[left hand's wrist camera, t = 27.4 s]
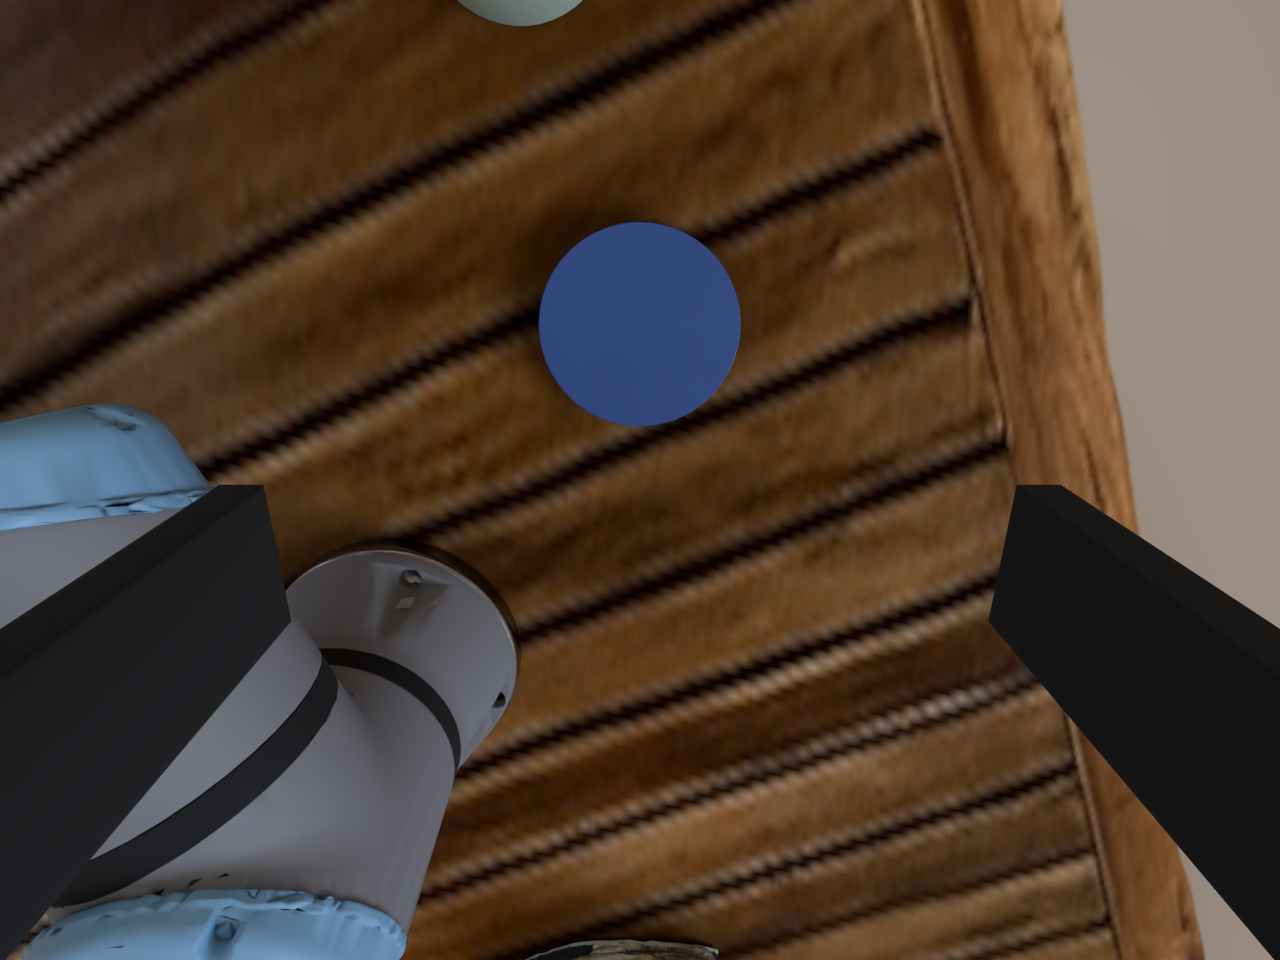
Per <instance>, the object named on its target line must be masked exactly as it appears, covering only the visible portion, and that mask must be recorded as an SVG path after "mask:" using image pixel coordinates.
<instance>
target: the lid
mask: <svg viewBox="0 0 1280 960" xmlns="http://www.w3.org/2000/svg"><path fill="white" fill-rule="evenodd" d="M740 325H741V321H740V309H739V304H738V300H737V295H736V292H735V290H734V287H733V284H732V282H731V280H730V278H729V276H728V274H727V272H726V270H725V269H724V267H723V266H722V265H721V263H720V262H719V260H718V259H717V258H716V257H715V256H714V255H713V254H712V253H711V251H710V250H709V249H708V248H706V247H705V246H704V245H703V244H701V243H700V242H699V241H698V240H696V239H695V238H693V237H691V236H690V235H688V234H686V233H685V232H683V231H680V230H678V229H676V228H673V227H671V226H667V225H664V224H660V223H654V222H646V221H632V222H626V223H619V224H616V225H612V226H609V227H606V228H604V229H601V230H599V231H597V232H595V233H593V234H591V235H590V236H588V237H586V238H585V239H583V240H582V241H580V242H579V243H578V244H577V245H575V246H574V247H573V248H572V249H571V250H570V251H569V252H568V253H567V254H566V255H565V256H564V257H563V258H562V259H561V261H560V262H559V264H558V265H557V266H556V268H555V269H554V271H553V273H552V275H551V277H550V279H549V280H548V282H547V285H546V288H545V291H544V293H543V296H542V301H541V306H540V312H539V337H540V342H541V347H542V351H543V354H544V358H545V361H546V363H547V365H548V367H549V370H550V372H551V374H552V375H553V377H554V378H555V380H556V382H557V383H558V385H559V386H560V387H561V388H562V390H563V391H564V392H565V393H566V394H567V395H568V396H569V397H570V398H571V399H572V400H573V401H574V402H575V403H576V404H578V405H579V406H581V407H582V408H583V409H585V410H586V411H588V412H590V413H591V414H593V415H595V416H597V417H599V418H602V419H604V420H607V421H610V422H614V423H618V424H622V425H630V426H649V425H657V424H662V423H666V422H669V421H672V420H675V419H677V418H680V417H682V416H684V415H686V414H688V413H690V412H691V411H693V410H695V409H696V408H697V407H699V406H700V405H702V404H703V403H704V402H705V401H706V400H707V399H708V398H709V397H711V396H712V395H713V394H714V392H715V391H716V390H717V389H718V388H719V386H720V385H721V384H722V382H723V381H724V379H725V377H726V376H727V374H728V373H729V370H730V368H731V366H732V364H733V362H734V359H735V355H736V352H737V349H738V344H739V338H740Z"/></svg>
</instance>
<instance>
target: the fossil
mask: <svg viewBox="0 0 1280 960" xmlns="http://www.w3.org/2000/svg"><path fill="white" fill-rule="evenodd" d="M717 957H718V950H716V949H713V948H709V947H705V946H701V945H688V944H682V943H670V942H659V941H648V942H641V941H634V940H598V941H587V942H578V943H572V944H569V945H565V946H562V947H558V948H555V949H552V950H550V951H548V952H545V953H539V954H536V955H534V956H532V957H530V958H528V959H526V960H717Z"/></svg>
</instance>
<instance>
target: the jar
mask: <svg viewBox="0 0 1280 960" xmlns="http://www.w3.org/2000/svg"><path fill="white" fill-rule="evenodd" d="M457 1H458V2H459V3H461V4H462V5H463V6H464V7H466V8H467V9H469V10H470V11H472V12H474V13H475V14H477V15H479V16H481V17H483V18H485V19H488V20H490V21H494V22H497V23H500V24H505V25H512V26H530V25H536V24H542V23H545V22H548V21H551V20H554V19H556V18H558V17H560V16H562V15H564V14H566V13H567V12H568V11H570V10H571V9H573V8H574V7H576V6H577V5H578V4H579V3H580V2H581V1H582V0H457Z"/></svg>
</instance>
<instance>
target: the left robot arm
mask: <svg viewBox="0 0 1280 960" xmlns="http://www.w3.org/2000/svg"><path fill="white" fill-rule="evenodd" d="M989 622H990V624H991V625H992V626H993V627H994V628H995V629H996V631H997V632H998V633H999V634H1000V635H1001V637H1002V638H1003V639H1004V640H1005V641H1006V642H1007V644H1008V645H1009V646H1010V647H1011V648H1012V650H1013V651H1014V652H1015V653H1016V654H1017V656H1018V657H1019V658H1020V659H1021V660H1022V661H1023V663H1024V664H1025V665H1026V666H1027V667H1028V669H1029V670H1030V671H1031V672H1032V673H1033V674H1034V676H1035V677H1036V678H1037V679H1038V680H1039V682H1040V683H1041V684H1042V685H1043V686H1044V687H1045V689H1046V690H1047V691H1048V692H1049V693H1050V695H1051V696H1052V697H1053V698H1054V699H1055V701H1056V702H1057V703H1058V704H1059V705H1060V706H1061V708H1062V709H1063V710H1064V711H1065V712H1066V714H1067V715H1068V716H1069V717H1070V718H1071V719H1072V721H1073V722H1074V723H1075V724H1076V725H1077V727H1078V728H1079V729H1080V730H1081V731H1082V732H1083V734H1084V735H1085V736H1086V737H1087V738H1088V740H1089V741H1090V742H1091V743H1092V744H1093V746H1094V747H1095V748H1096V749H1097V750H1098V751H1099V753H1100V754H1101V755H1102V756H1103V757H1104V759H1105V760H1106V761H1107V762H1108V763H1109V764H1110V766H1111V767H1112V768H1113V769H1114V770H1115V772H1116V773H1117V774H1118V775H1119V776H1120V778H1121V779H1122V780H1123V781H1124V782H1125V783H1126V785H1127V786H1128V787H1129V788H1130V789H1131V791H1132V792H1133V793H1134V794H1135V795H1136V796H1137V798H1138V799H1139V800H1140V801H1141V802H1142V804H1143V805H1144V806H1145V807H1146V808H1147V809H1148V811H1149V812H1150V813H1151V814H1152V815H1153V817H1154V818H1155V819H1156V820H1157V821H1158V823H1159V824H1160V825H1161V826H1162V827H1163V828H1164V830H1165V831H1166V832H1167V833H1168V834H1169V836H1170V837H1171V838H1172V839H1173V840H1174V841H1175V843H1176V844H1177V845H1178V846H1179V847H1180V849H1181V850H1182V851H1183V852H1184V853H1185V854H1186V856H1187V857H1188V858H1189V859H1190V860H1191V862H1192V863H1193V864H1194V865H1195V866H1196V868H1197V869H1198V870H1199V871H1200V872H1201V873H1202V875H1203V876H1204V877H1205V878H1206V879H1207V880H1208V882H1209V883H1210V884H1211V885H1212V886H1213V888H1214V889H1215V890H1216V891H1217V892H1218V894H1219V895H1220V896H1221V897H1222V898H1223V899H1224V901H1225V902H1226V903H1227V904H1228V905H1229V907H1230V908H1231V909H1232V910H1233V911H1234V913H1235V914H1236V915H1237V916H1238V917H1239V918H1240V920H1241V921H1242V922H1243V923H1244V924H1245V926H1246V927H1247V928H1248V929H1249V930H1250V931H1251V933H1252V934H1253V935H1254V936H1255V937H1256V939H1257V940H1258V941H1259V942H1260V943H1261V944H1262V946H1263V947H1264V948H1265V949H1266V950H1267V952H1268V953H1269V954H1270V955H1271V956H1272V958H1273V959H1274V960H1280V629H1279V628H1278V627H1276V626H1275V625H1273V624H1272V623H1270V622H1269V621H1267V620H1265V619H1264V618H1262V617H1261V616H1259V615H1258V614H1256V613H1255V612H1253V611H1252V610H1250V609H1249V608H1247V607H1246V606H1244V605H1243V604H1241V603H1240V602H1238V601H1237V600H1235V599H1233V598H1232V597H1230V596H1229V595H1227V594H1226V593H1224V592H1223V591H1221V590H1220V589H1218V588H1217V587H1215V586H1214V585H1212V584H1211V583H1209V582H1208V581H1206V580H1205V579H1203V578H1202V577H1200V576H1198V575H1197V574H1195V573H1194V572H1192V571H1191V570H1189V569H1188V568H1186V567H1185V566H1183V565H1182V564H1180V563H1179V562H1177V561H1176V560H1174V559H1173V558H1171V557H1170V556H1168V555H1167V554H1165V553H1164V552H1162V551H1160V550H1159V549H1157V548H1156V547H1154V546H1153V545H1151V544H1150V543H1148V542H1147V541H1145V540H1144V539H1142V538H1141V537H1139V536H1138V535H1136V534H1135V533H1133V532H1132V531H1130V530H1129V529H1127V528H1126V527H1124V526H1122V525H1121V524H1119V523H1118V522H1116V521H1115V520H1113V519H1112V518H1110V517H1109V516H1107V515H1106V514H1104V513H1103V512H1101V511H1100V510H1098V509H1097V508H1095V507H1094V506H1092V505H1091V504H1089V503H1087V502H1086V501H1084V500H1083V499H1081V498H1080V497H1078V496H1077V495H1075V494H1074V493H1072V492H1071V491H1069V490H1068V489H1066V488H1065V487H1063V486H1062V485H1017V486H1016V491H1015V496H1014V501H1013V505H1012V510H1011V515H1010V520H1009V525H1008V529H1007V534H1006V539H1005V544H1004V549H1003V553H1002V558H1001V563H1000V568H999V573H998V578H997V582H996V587H995V592H994V597H993V602H992V606H991V611H990V616H989ZM520 661H521V646H520V638H519V634H518V629H517V627H516V624H515V621H514V618H513V616H512V614H511V612H510V610H509V608H508V606H507V605H506V603H505V601H504V600H503V598H502V597H501V596H500V594H499V593H498V592H497V590H496V589H495V588H494V587H493V586H492V585H491V584H490V583H489V582H488V581H487V580H486V579H485V578H484V577H483V576H482V575H481V574H480V573H478V572H477V571H476V570H474V569H473V568H472V567H470V566H469V565H467V564H466V563H464V562H463V561H461V560H459V559H457V558H455V557H454V556H452V555H450V554H448V553H445V552H443V551H440V550H438V549H435V548H432V547H429V546H426V545H422V544H418V543H414V542H407V541H399V540H373V541H364V542H359V543H355V544H351V545H347V546H344V547H341V548H339V549H336V550H334V551H332V552H330V553H328V554H326V555H324V556H323V557H321V558H319V559H318V560H317V561H315V562H314V563H312V564H311V565H310V566H309V567H308V568H307V569H306V570H304V571H303V572H302V574H301V575H300V576H299V577H298V578H297V579H296V580H295V581H294V582H293V583H292V584H291V585H290V587H289V588H288V589H287V590H286V591H285V587H284V582H283V578H282V573H281V568H280V563H279V558H278V553H277V549H276V544H275V539H274V534H273V529H272V525H271V520H270V515H269V510H268V505H267V501H266V496H265V491H264V486H263V485H218V486H217V487H215V488H214V487H211V486H210V484H209V483H208V482H207V480H206V479H205V478H204V476H203V475H202V474H201V472H200V471H199V470H198V468H197V467H196V466H195V464H194V463H193V462H192V460H191V459H190V458H189V456H188V455H187V454H186V452H185V451H184V450H183V448H182V447H181V445H180V444H179V443H178V441H177V440H176V439H175V437H174V436H173V435H172V433H171V432H170V430H169V429H168V428H167V427H166V426H165V425H164V424H163V423H162V422H161V421H160V420H158V419H157V418H156V417H154V416H153V415H151V414H149V413H147V412H145V411H143V410H141V409H138V408H135V407H131V406H127V405H122V404H92V405H84V406H78V407H73V408H68V409H63V410H58V411H53V412H48V413H44V414H39V415H34V416H30V417H25V418H20V419H16V420H12V421H8V422H3V423H0V960H6V959H7V958H8V956H9V955H10V954H11V953H12V952H13V950H14V949H15V948H16V947H17V946H18V945H19V943H20V942H21V941H22V940H23V939H24V937H25V936H26V935H27V934H28V933H29V931H30V930H31V929H32V928H33V927H34V926H35V924H36V923H37V922H38V921H39V920H40V918H41V917H42V916H43V915H44V914H45V913H46V914H47V915H48V916H49V917H50V921H51V926H49V927H47V928H44V929H43V930H42V931H41V932H40V933H39V934H38V936H37V937H35V938H34V939H33V940H32V942H31V943H30V944H29V945H28V948H27V949H26V951H25V952H24V953H23V960H399V959H400V958H401V956H402V955H403V953H404V951H405V947H406V943H407V934H408V930H409V927H410V924H411V921H412V917H413V914H414V911H415V907H416V904H417V901H418V898H419V894H420V891H421V888H422V884H423V881H424V878H425V875H426V871H427V868H428V865H429V862H430V858H431V855H432V852H433V848H434V845H435V842H436V839H437V835H438V832H439V829H440V825H441V822H442V819H443V816H444V812H445V809H446V806H447V802H448V799H449V796H450V793H451V789H452V785H453V782H454V779H455V776H456V773H457V770H458V768H459V767H460V766H461V765H462V764H463V763H464V761H465V760H466V759H467V758H468V757H469V756H470V754H471V753H472V752H473V751H474V750H475V749H476V748H477V746H478V745H479V744H480V743H481V742H482V741H483V739H484V738H485V737H486V736H487V735H488V734H489V733H490V731H491V730H492V729H493V728H494V726H495V725H496V724H497V723H498V722H499V721H500V719H501V718H502V716H503V715H504V713H505V711H506V710H507V708H508V706H509V704H510V701H511V698H512V696H513V692H514V689H515V685H516V681H517V677H518V673H519V669H520Z"/></svg>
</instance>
